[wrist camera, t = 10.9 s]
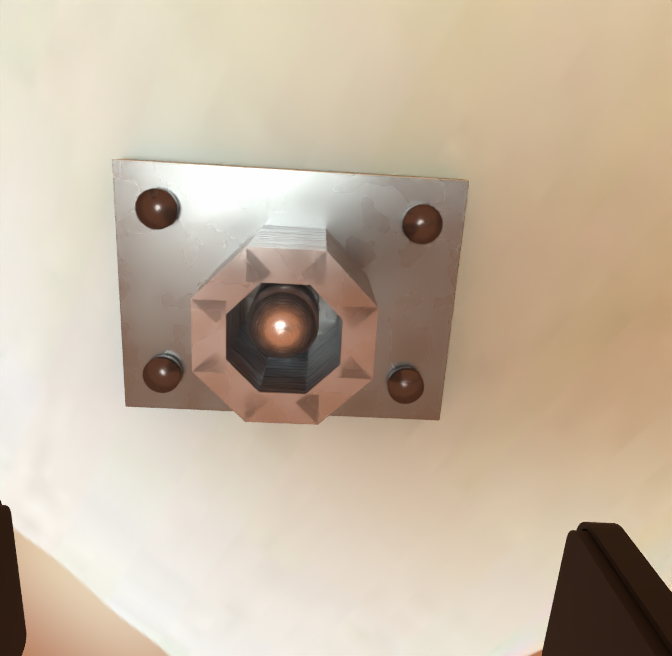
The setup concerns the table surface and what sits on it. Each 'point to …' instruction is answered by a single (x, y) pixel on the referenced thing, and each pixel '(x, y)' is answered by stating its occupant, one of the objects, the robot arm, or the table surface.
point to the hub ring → (296, 372)
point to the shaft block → (286, 299)
